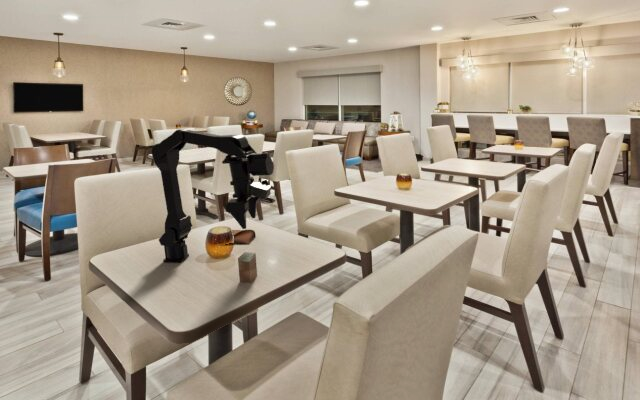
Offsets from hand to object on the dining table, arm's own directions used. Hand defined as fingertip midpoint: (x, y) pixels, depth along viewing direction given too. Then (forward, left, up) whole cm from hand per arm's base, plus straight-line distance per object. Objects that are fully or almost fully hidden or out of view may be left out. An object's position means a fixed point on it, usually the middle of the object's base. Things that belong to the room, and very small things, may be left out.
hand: (249, 223), depth 133 cm
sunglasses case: (-16, +22, -15) cm, 30 cm away
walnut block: (+2, -11, -14) cm, 18 cm away
